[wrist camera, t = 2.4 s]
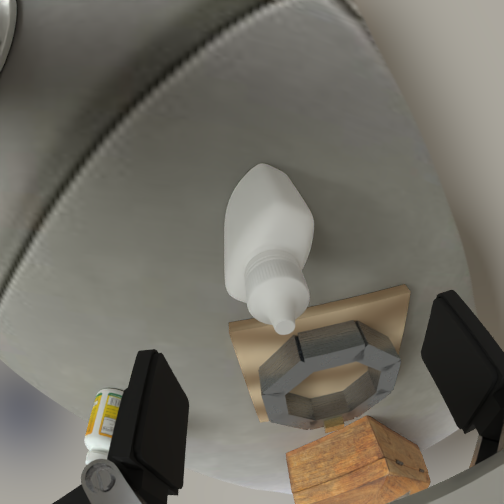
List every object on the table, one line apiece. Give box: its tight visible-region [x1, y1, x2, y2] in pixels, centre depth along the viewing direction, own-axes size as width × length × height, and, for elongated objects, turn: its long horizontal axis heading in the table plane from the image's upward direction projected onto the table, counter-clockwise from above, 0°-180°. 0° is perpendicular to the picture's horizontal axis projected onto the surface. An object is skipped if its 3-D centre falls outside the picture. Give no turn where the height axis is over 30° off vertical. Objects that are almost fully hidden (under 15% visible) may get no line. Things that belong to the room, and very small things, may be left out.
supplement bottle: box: [85, 388, 123, 465], centre depth 27 cm, size 5×5×10 cm
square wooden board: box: [229, 284, 411, 422], centre depth 29 cm, size 16×16×1 cm
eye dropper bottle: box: [224, 163, 314, 335], centre depth 16 cm, size 4×6×12 cm
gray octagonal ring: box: [258, 320, 401, 433], centre depth 27 cm, size 13×13×4 cm
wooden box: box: [286, 416, 430, 504], centre depth 39 cm, size 30×16×14 cm, turn 40°
